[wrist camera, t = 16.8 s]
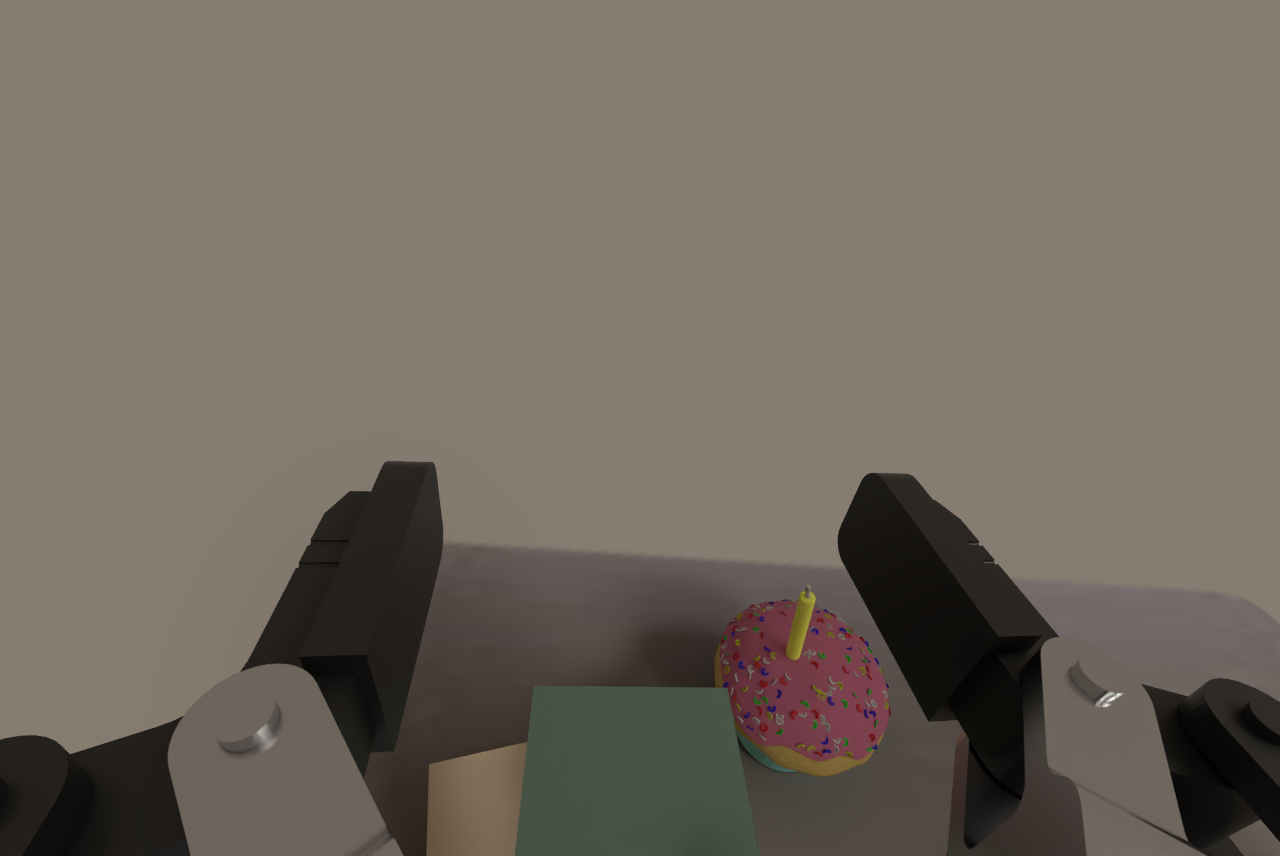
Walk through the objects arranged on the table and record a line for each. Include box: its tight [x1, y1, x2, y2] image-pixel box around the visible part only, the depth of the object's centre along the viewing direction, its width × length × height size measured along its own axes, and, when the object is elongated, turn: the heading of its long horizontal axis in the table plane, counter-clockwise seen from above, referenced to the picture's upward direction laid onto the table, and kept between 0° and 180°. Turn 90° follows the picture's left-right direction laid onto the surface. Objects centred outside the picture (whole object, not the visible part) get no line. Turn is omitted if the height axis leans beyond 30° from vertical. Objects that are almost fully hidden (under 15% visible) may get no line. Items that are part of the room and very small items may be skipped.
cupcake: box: [714, 584, 891, 777], centre depth 26 cm, size 9×8×12 cm
